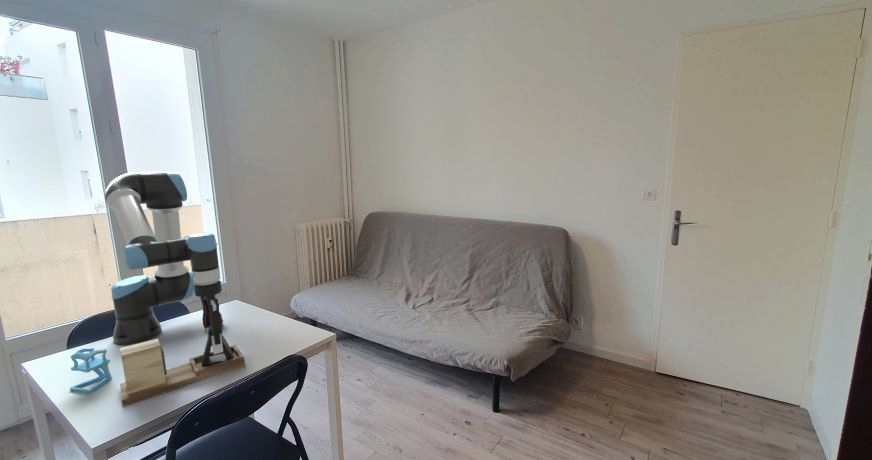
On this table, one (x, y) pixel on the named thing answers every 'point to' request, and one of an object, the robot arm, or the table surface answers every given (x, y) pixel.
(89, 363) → the chair
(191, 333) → the table surface
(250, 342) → the table surface
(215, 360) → the dark grey a-frame stand
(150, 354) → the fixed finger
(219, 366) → the wooden desk organizer
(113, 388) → the table surface
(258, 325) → the table surface
